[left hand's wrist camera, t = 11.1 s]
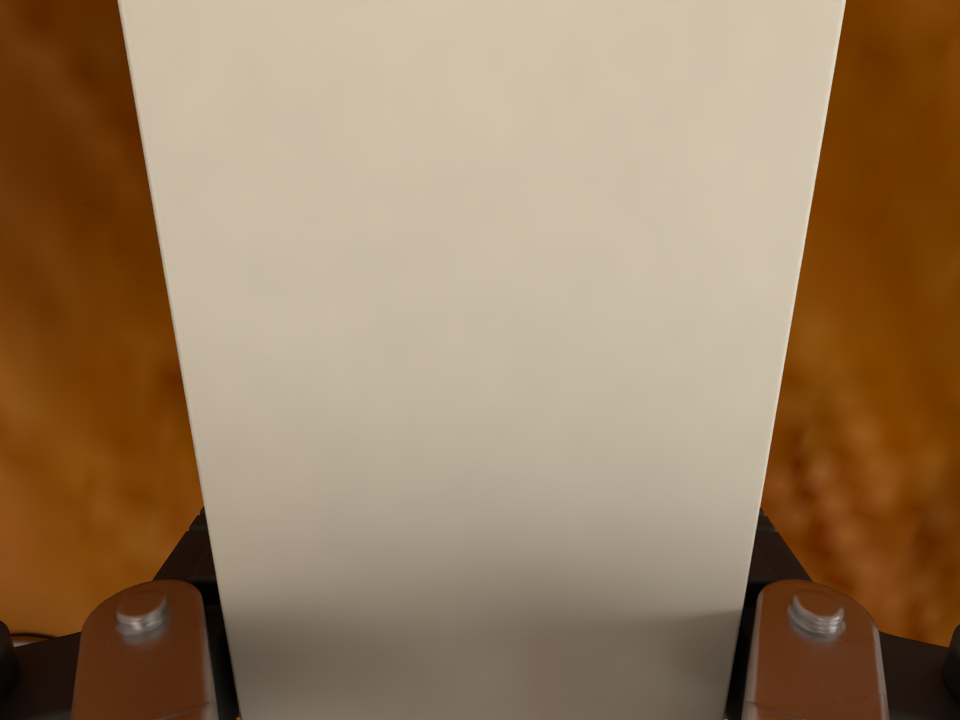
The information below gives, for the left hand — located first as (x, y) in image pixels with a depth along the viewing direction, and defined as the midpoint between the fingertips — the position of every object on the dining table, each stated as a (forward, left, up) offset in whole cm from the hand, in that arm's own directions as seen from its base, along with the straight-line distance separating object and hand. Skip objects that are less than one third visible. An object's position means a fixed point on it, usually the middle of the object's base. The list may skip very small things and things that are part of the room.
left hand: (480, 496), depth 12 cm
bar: (+3, +10, -5) cm, 11 cm away
